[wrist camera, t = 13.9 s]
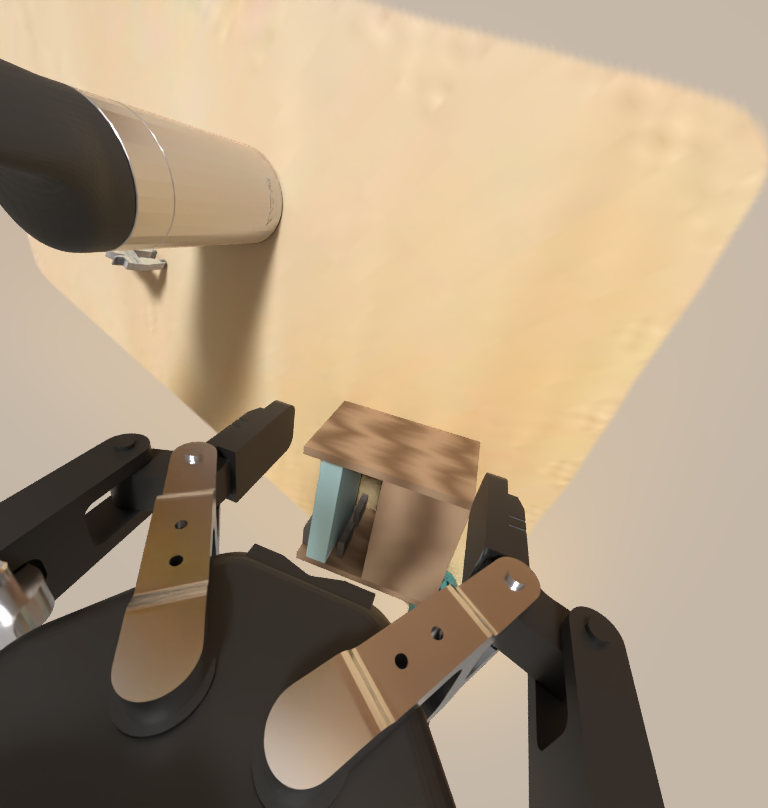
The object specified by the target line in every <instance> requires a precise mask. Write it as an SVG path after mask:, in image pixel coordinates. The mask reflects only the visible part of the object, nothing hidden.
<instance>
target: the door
mask: <svg viewBox="0 0 768 808" xmlns="http://www.w3.org/2000/svg"><path fill="white" fill-rule="evenodd" d="M361 474H362V473H359V472H356V471H353V470H350V469H347V468H344V467H341V466H338V465H335V464H332V463H329V462H326V461H324V460H321V467H320V473H319V479H318V485H317V491H316V497H315V503H314V509H313V515H312V521H311V527H310V534H309V540H308V546H307V552H306V556H307V557H309V558H312V559H314V560H317V561H320V562H322V563H325V562H326V560H327V559H328V557H329V555H330V553H331V552H332V550H333V548H334V546H335V545H336V543H337V541H338V540H339V538H340V536H341V534H342V533H343V531H344V529H345V527H346V526H347V524H348V522H349V520H350V519H351V517H352V515H353V512H354V507H355V502H356V498H357V493H358V488H359V484H360V479H361Z"/></svg>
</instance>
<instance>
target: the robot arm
mask: <svg viewBox="0 0 768 808" xmlns="http://www.w3.org/2000/svg"><path fill="white" fill-rule="evenodd" d="M0 205H1V206H2V207H3V208H4V210H5V211H6V212H7V213H8V214H9V215H10V217H11V218H12V219H13V220H14V221H15V222H16V223H17V224H18V225H19V226H20V227H22V228H23V229H24V230H25V231H26V232H27V233H28V234H30V235H31V236H32V237H34V238H35V239H37V240H38V241H40V242H41V243H43V244H45V245H47V246H49V247H52V248H54V249H57V250H61V251H65V252H73V253H91V252H109V251H127V250H143V249H159V248H177V247H195V246H213V245H233V244H250V243H258V242H261V241H264V240H265V239H267V238H268V237H269V236H270V235H271V234H272V233H273V232H274V231H275V229H276V227H277V225H278V223H279V220H280V216H281V211H282V193H281V189H280V184H279V181H278V178H277V176H276V173H275V171H274V170H273V168H272V166H271V164H270V163H269V162H268V160H267V159H266V158H265V157H264V156H263V155H262V154H261V153H260V152H258V151H257V150H256V149H254V148H252V147H250V146H248V145H245V144H242V143H239V142H236V141H233V140H230V139H227V138H224V137H222V136H219V135H216V134H213V133H210V132H207V131H204V130H201V129H198V128H195V127H192V126H189V125H186V124H183V123H180V122H177V121H174V120H171V119H168V118H165V117H162V116H159V115H156V114H153V113H150V112H147V111H144V110H141V109H138V108H135V107H132V106H129V105H126V104H123V103H120V102H117V101H113V100H110V99H107V98H104V97H101V96H98V95H95V94H92V93H89V92H86V91H83V90H80V89H77V88H74V87H71V86H68V85H66V84H63V83H60V82H57V81H54V80H51V79H48V78H45V77H42V76H39V75H37V74H34V73H32V72H30V71H27V70H25V69H23V68H20V67H18V66H16V65H14V64H11V63H9V62H7V61H4V60H2V59H0ZM294 415H295V408H294V406H292V405H289V404H286V403H283V402H280V401H277V400H276V401H274V402H272V403H271V404H270V405H268V406H267V407H266V408H265V409H264V408H258V409H255V410H252V411H249V412H247V413H246V414H244V415H243V416H242V417H240V418H239V420H236V421H235V422H233V423H232V425H229V426H228V427H227V428H225V429H224V430H222V431H221V432H220V433H218V434H217V435H216V436H214V437H213V438H211V439H210V440H209V441H207V442H206V443H205V442H191V443H187V444H184V445H181V446H180V447H178V448H176V449H175V450H174V451H169V450H160V449H151V446H150V441H149V439H148V438H147V437H146V436H144V435H140V434H122V435H118V436H114V437H112V438H110V439H108V440H106V441H104V442H102V443H101V444H99V445H97V446H96V447H94V448H92V449H90V450H89V451H87V452H85V453H84V454H82V455H80V456H79V457H77V458H75V459H74V460H72V461H70V462H68V463H67V464H65V465H63V466H62V467H60V468H58V469H56V470H55V471H53V472H51V473H50V474H48V475H46V476H45V477H43V478H41V479H40V480H38V481H36V482H34V483H33V484H31V485H29V486H28V487H26V488H24V489H23V490H21V491H20V492H17V493H16V494H14V495H13V496H11V497H9V498H7V499H6V500H4V501H2V502H0V808H456V806H455V803H454V800H453V797H452V794H451V791H450V788H449V785H448V782H447V779H446V776H445V773H444V770H443V767H442V764H441V761H440V758H439V755H438V752H437V749H436V746H435V743H434V741H433V738H432V734H431V731H430V728H429V725H428V722H429V721H430V720H431V719H432V718H433V717H434V716H435V715H436V714H437V713H438V712H439V711H440V710H441V709H442V708H443V707H444V706H445V705H446V704H447V703H448V702H449V701H450V700H451V698H452V697H453V696H454V695H455V694H456V693H457V691H458V690H459V689H460V688H461V687H462V686H463V685H464V684H465V683H466V682H467V681H468V680H469V679H470V678H471V677H472V676H473V675H474V674H475V673H476V672H477V671H478V670H480V669H481V668H482V667H483V666H484V665H485V664H486V663H487V662H488V660H490V659H491V658H492V657H493V656H494V655H495V654H496V653H497V652H498V651H501V652H502V653H503V654H504V655H506V656H507V657H508V658H510V659H511V660H512V661H513V662H514V663H516V664H517V665H518V666H519V667H521V668H522V669H523V670H524V671H526V672H527V673H528V735H529V736H528V740H529V741H528V742H529V808H665V807H664V803H663V799H662V795H661V791H660V787H659V783H658V779H657V774H656V770H655V767H654V763H653V759H652V754H651V750H650V746H649V742H648V738H647V734H646V730H645V726H644V722H643V717H642V713H641V709H640V705H639V701H638V697H637V693H636V689H635V686H634V681H633V677H632V673H631V669H630V665H629V660H628V657H627V653H626V648H625V645H624V642H623V640H622V637H621V635H620V634H619V632H618V631H617V629H616V628H615V627H614V625H613V624H612V623H611V622H610V621H609V620H608V619H607V618H606V617H604V616H603V615H602V614H600V613H598V612H597V611H595V610H593V609H591V608H588V607H582V606H581V607H576V608H574V609H573V610H572V611H569V610H568V609H566V608H565V607H563V606H562V605H560V604H559V603H558V602H556V601H554V600H553V599H552V598H550V597H549V596H548V595H547V594H545V593H544V592H543V591H542V590H541V588H540V583H539V580H538V578H537V576H536V575H535V573H534V572H533V571H532V570H531V569H530V567H529V556H528V545H527V534H526V523H525V511H524V508H523V506H522V504H521V502H520V501H519V499H518V497H516V496H513V495H510V494H508V481H507V479H505V478H502V477H499V476H496V475H493V474H490V473H486V475H485V477H484V479H483V481H482V483H481V485H480V488H479V490H478V492H477V494H476V497H475V499H474V501H473V504H472V506H471V510H470V514H469V521H468V531H467V540H466V550H465V559H464V569H463V579H462V584H461V585H460V586H458V587H456V588H455V587H454V585H452V584H451V585H448V586H446V587H445V588H443V589H441V590H440V591H439V592H437V593H436V594H434V595H433V596H431V597H430V598H428V599H427V600H425V601H424V602H422V603H421V604H419V605H418V606H416V607H415V608H414V609H412V610H411V611H409V612H408V613H406V614H405V615H403V616H402V617H400V618H399V619H398V620H396V621H394V622H393V623H390V622H389V621H388V619H387V618H386V617H385V616H384V615H383V614H382V612H381V611H380V610H378V609H377V608H376V607H375V606H373V605H372V604H373V601H374V597H375V594H374V593H372V592H369V591H367V590H365V589H362V588H360V587H358V586H355V585H353V584H350V583H348V582H346V581H341V580H334V579H328V578H321V577H314V576H310V575H308V574H306V573H305V572H304V571H302V570H301V569H300V568H299V567H297V566H296V565H295V564H294V563H292V562H291V561H290V560H288V559H287V558H286V557H285V556H283V555H281V554H279V553H276V552H274V551H272V550H269V549H267V548H264V547H262V546H260V545H257V544H254V545H253V547H252V548H251V549H250V551H249V552H248V553H247V552H230V553H224V554H219V536H220V503H222V502H223V501H224V500H225V499H229V500H231V501H234V502H238V501H239V500H240V499H241V498H242V497H243V496H244V495H245V493H246V492H247V491H248V490H249V489H250V488H251V487H252V486H253V485H254V484H255V483H256V482H257V481H258V480H259V479H260V478H261V477H262V476H263V475H264V474H265V473H266V472H267V471H268V470H269V468H270V467H271V466H272V465H273V464H274V463H275V462H276V461H277V460H278V459H279V458H280V457H281V456H282V455H283V454H284V453H285V452H286V451H287V449H288V448H289V446H290V444H291V442H292V438H293V428H294ZM108 491H111V496H109V497H108V498H107V499H105V500H104V501H103V502H101V503H100V504H99V505H98V506H96V507H95V508H93V509H92V510H91V511H89V512H88V513H87V514H85V513H86V511H87V509H88V507H89V506H90V505H91V504H92V503H93V502H95V501H96V500H97V499H99V498H100V497H101V496H103V495H104V494H105V493H107V492H108ZM151 513H152V517H151V522H150V526H149V530H148V535H147V539H146V543H145V548H144V552H143V557H142V561H141V565H140V569H139V574H138V578H137V583H136V587H135V588H132V589H130V590H127V591H125V592H122V593H120V594H118V595H115V596H113V597H110V598H108V599H105V600H103V601H100V602H98V603H95V604H93V605H90V606H88V607H86V608H83V609H80V610H78V611H75V612H73V613H70V614H68V615H65V616H63V617H60V618H58V619H56V620H53V621H51V622H48V623H46V624H43V623H44V622H45V621H46V619H47V618H48V617H49V616H50V614H51V612H52V610H53V607H54V602H55V600H56V599H57V598H58V597H59V596H60V595H61V594H63V593H64V592H65V591H66V590H67V589H68V588H69V587H70V586H72V585H73V584H74V583H75V582H76V581H77V580H78V579H79V578H80V577H81V576H83V575H84V574H85V573H86V572H87V571H88V570H89V569H90V568H91V567H93V566H94V565H95V564H96V563H97V562H98V561H99V560H100V559H102V558H103V557H104V556H105V555H106V554H107V553H108V552H109V551H110V550H111V549H112V548H114V547H115V546H116V545H117V544H118V543H119V542H121V541H122V540H123V539H124V538H125V537H126V536H127V535H128V534H129V533H131V531H133V530H134V529H135V528H136V527H137V526H138V525H139V524H140V523H142V522H143V521H144V520H145V519H146V518H147V517H148V516H149V515H151ZM42 624H43V625H42Z"/></svg>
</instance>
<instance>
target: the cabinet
mask: <svg viewBox="0 0 768 808" xmlns="http://www.w3.org/2000/svg"><path fill="white" fill-rule="evenodd" d="M479 449H480V442H478V441H475V440H471V439H468V438H465V437H462V436H458V435H455V434H452V433H448V432H445V431H442V430H439V429H435V428H432V427H429V426H426V425H422V424H419V423H416V422H412V421H409V420H406V419H403V418H399V417H396V416H393V415H389V414H386V413H383V412H380V411H376V410H373V409H370V408H366V407H363V406H360V405H357V404H353V403H350V402H347V401H344V402H343V404H342V405H341V406H340V407H339V408H338V409H337V410H336V411H335V412H334V413H333V415H332V416H331V417H330V418H329V419H328V420H327V421H326V422H325V423H324V425H323V426H322V427H321V428H320V429H319V430H318V431H317V432H316V433H315V434H314V436H313V437H312V438H311V439H310V440H309V441H308V442H307V443H306V444H305V446H304V454H306V455H309V456H312V457H315V458H318V459H321V460H324V461H326V462H329V463H332V464H335V465H338V466H341V467H344V468H347V469H350V470H353V471H356V472H359V473H362V474H365V475H368V476H370V477H373V478H376V479H379V480H382V481H383V482H382V486H381V491H380V496H379V500H378V505H377V509H376V511H374V510H371V509H368V508H366V504H367V499H368V495H365V494H363V495H362V497H361V499H360V501H359V503H358V505H357V504H355V507H354V512H353V515H352V517H351V519H350V520H349V522H348V524H347V526H346V527H345V529H344V531H343V533H342V534H341V536H340V538H339V540H338V541H337V543H336V545H335V546H334V548H333V550H332V552H331V553H330V555H329V557H328V559H327V560H326V562H325V563H322V562H320V561H317V560H314V559H312V558H309V557H307V556H306V552H307V546H308V540H309V534H310V527H311V521H312V516H311V518H310V519H309V521H308V523H307V524H306V525H305V527H304V531H303V544H302V545H301V547H300V548H299V550H298V551H297V556H296V558H299V559H301V560H303V561H306V562H308V563H311V564H313V565H316V566H318V567H321V568H324V569H326V570H329V571H331V572H334V573H336V574H339V575H341V576H344V577H346V578H349V579H351V580H354V581H356V582H358V583H361V584H363V585H366V586H369V587H371V588H374V589H376V590H379V591H381V592H384V593H386V594H389V595H391V596H394V597H396V598H399V599H401V600H404V601H406V602H409V603H411V604H414V605H416V606H418V605H419V604H421V603H422V602H424V601H425V600H427V599H428V598H430V597H431V596H433V595H434V594H436V593H437V592H438V591H439V588H440V586H441V584H442V581H443V579H444V576H445V574H446V571H447V569H448V566H449V564H450V562H451V559H452V557H453V554H454V552H455V549H456V547H457V545H458V542H459V540H460V537H461V535H462V532H463V530H464V528H465V525H466V523H467V520H468V518H469V514H470V510H471V506H472V504H473V501H474V499H475V492H476V481H477V471H478V460H479Z"/></svg>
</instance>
